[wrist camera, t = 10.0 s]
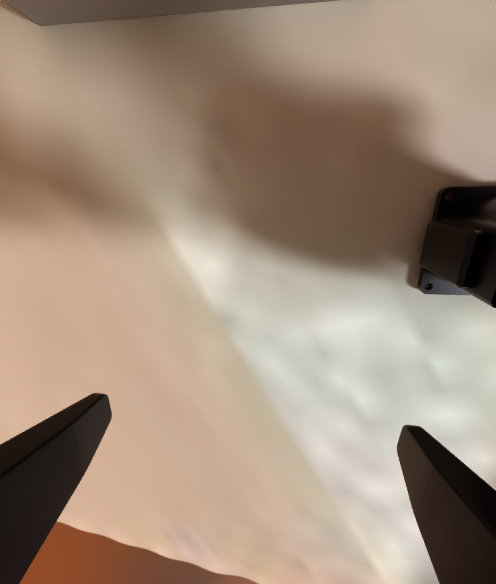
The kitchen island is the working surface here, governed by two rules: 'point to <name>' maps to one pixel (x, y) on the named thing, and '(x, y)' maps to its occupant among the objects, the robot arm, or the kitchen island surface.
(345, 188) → the kitchen island surface
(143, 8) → the outlet plate
